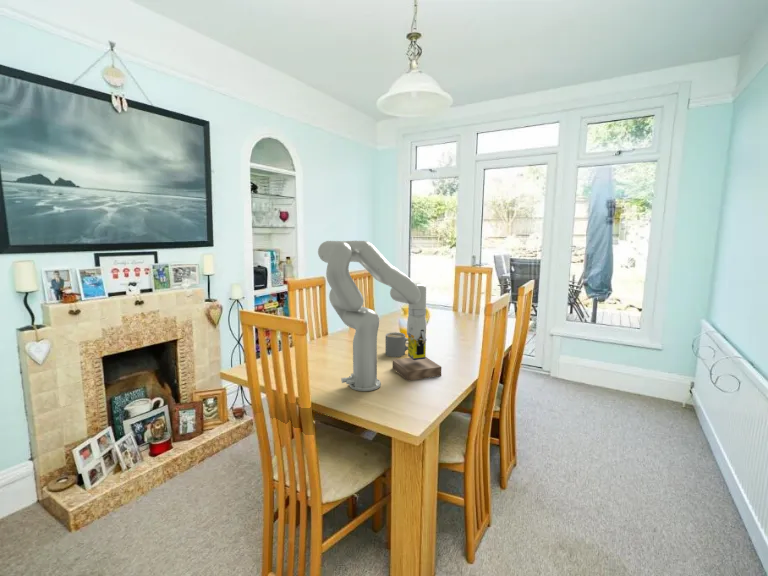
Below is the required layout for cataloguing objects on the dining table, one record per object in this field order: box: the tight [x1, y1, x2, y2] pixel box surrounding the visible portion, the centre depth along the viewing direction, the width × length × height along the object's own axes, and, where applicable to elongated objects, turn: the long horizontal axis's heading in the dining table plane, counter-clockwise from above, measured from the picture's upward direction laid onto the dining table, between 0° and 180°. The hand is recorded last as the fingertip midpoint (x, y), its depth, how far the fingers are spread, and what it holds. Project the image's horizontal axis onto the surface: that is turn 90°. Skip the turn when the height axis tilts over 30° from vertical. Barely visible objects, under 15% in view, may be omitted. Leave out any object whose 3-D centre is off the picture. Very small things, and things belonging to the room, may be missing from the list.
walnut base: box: [392, 357, 442, 382], centre depth 168 cm, size 16×16×4 cm
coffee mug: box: [385, 331, 408, 358], centre depth 193 cm, size 13×10×10 cm
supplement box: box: [407, 333, 427, 360], centre depth 167 cm, size 6×6×11 cm
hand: (416, 351), depth 167 cm, fingers closed on supplement box, 6 cm apart
